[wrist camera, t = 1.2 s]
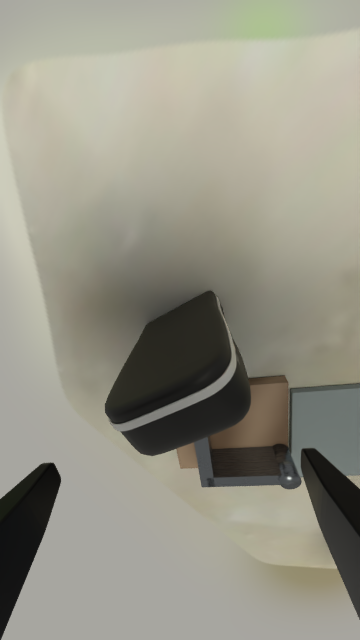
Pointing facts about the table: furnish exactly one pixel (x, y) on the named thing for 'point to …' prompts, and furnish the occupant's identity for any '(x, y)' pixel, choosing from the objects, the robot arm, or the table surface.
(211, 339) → the battery charger
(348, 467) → the end mat
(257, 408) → the rail board
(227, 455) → the bent rail
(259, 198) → the table surface
